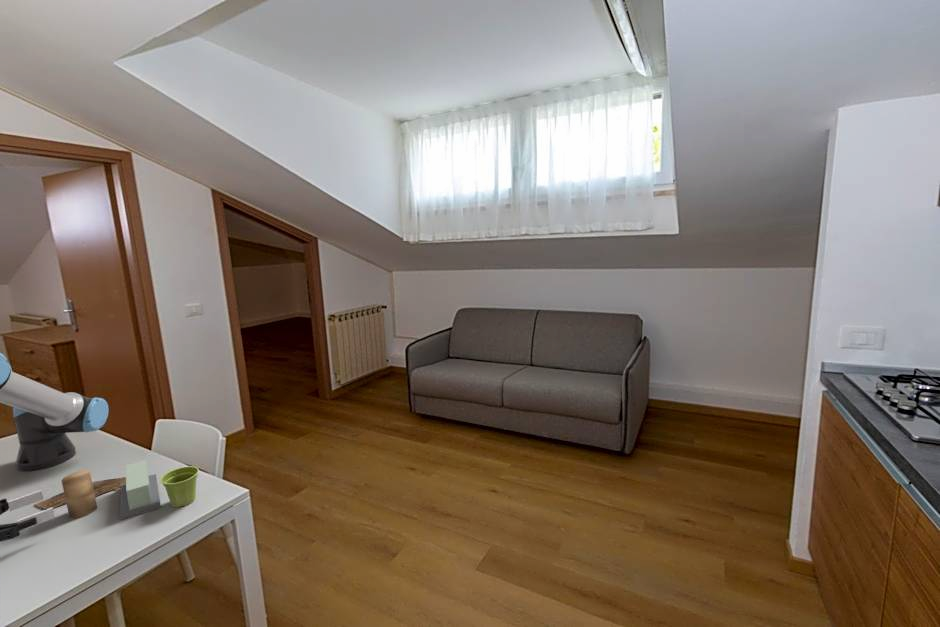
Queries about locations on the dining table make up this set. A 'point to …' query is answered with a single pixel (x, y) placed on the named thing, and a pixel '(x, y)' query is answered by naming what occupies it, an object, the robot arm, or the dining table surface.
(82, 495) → the tan wooden cylinder
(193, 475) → the plant pot
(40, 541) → the dining table surface
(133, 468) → the block
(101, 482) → the wooden fragment
